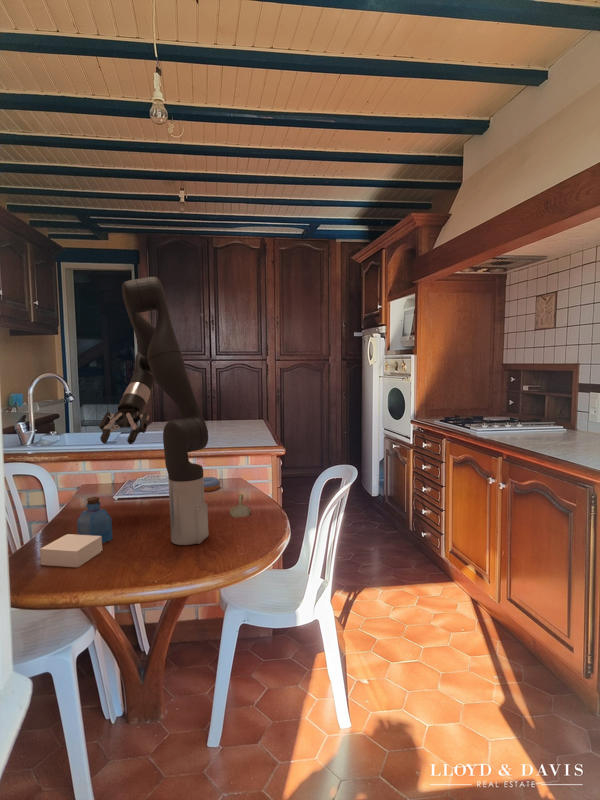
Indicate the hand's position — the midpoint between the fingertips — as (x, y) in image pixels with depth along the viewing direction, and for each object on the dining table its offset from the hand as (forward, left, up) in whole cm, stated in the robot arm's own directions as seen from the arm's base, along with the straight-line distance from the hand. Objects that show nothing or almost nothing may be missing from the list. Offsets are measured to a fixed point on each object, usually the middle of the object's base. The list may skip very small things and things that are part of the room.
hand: (116, 442), depth 144 cm
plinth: (-1, +23, -25) cm, 34 cm away
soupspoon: (-30, -23, -26) cm, 46 cm away
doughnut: (-10, -42, -26) cm, 50 cm away
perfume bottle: (0, +12, -25) cm, 28 cm away
